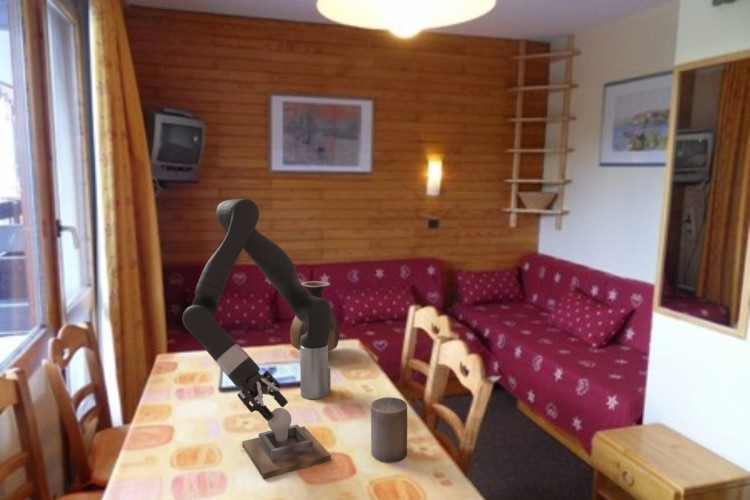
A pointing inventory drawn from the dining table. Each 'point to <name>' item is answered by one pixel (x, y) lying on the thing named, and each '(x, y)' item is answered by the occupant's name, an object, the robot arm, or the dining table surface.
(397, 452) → the pillar candle
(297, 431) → the bulb socket
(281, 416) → the lightbulb
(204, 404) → the dining table surface
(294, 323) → the vase
